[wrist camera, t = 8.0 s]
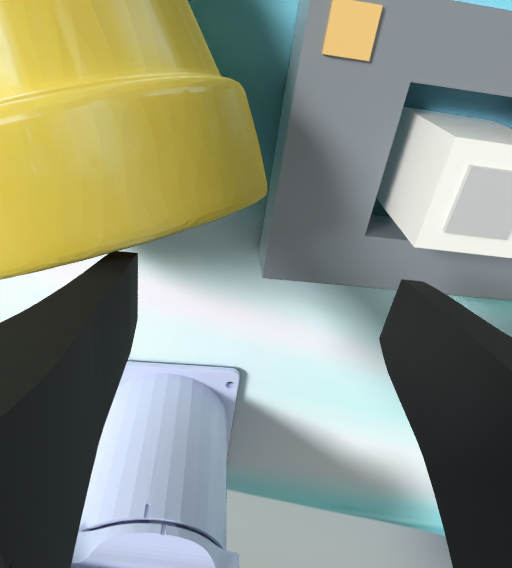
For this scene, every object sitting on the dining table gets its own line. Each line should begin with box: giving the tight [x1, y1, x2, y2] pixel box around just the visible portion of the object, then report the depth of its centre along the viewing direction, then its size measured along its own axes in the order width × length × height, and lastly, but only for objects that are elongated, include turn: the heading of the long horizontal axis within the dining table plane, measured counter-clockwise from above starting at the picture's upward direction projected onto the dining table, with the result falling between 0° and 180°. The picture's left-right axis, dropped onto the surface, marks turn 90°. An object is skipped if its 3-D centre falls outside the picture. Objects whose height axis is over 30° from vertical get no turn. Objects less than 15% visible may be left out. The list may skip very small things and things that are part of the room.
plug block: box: [376, 107, 512, 258], centre depth 17 cm, size 4×4×5 cm
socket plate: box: [259, 0, 512, 300], centre depth 18 cm, size 11×14×3 cm
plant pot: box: [0, 0, 268, 279], centre depth 13 cm, size 10×10×10 cm
